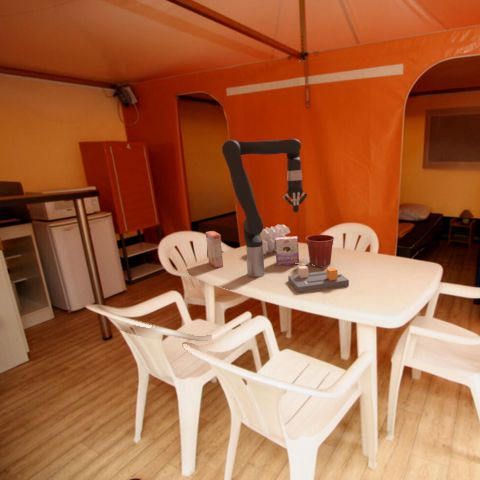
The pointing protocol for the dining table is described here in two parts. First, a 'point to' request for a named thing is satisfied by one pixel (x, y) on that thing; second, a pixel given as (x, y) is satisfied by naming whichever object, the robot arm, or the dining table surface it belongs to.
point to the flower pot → (320, 249)
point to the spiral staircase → (272, 236)
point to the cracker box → (214, 249)
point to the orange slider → (332, 274)
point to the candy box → (286, 250)
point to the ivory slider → (303, 271)
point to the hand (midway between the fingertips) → (295, 212)
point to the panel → (316, 282)
